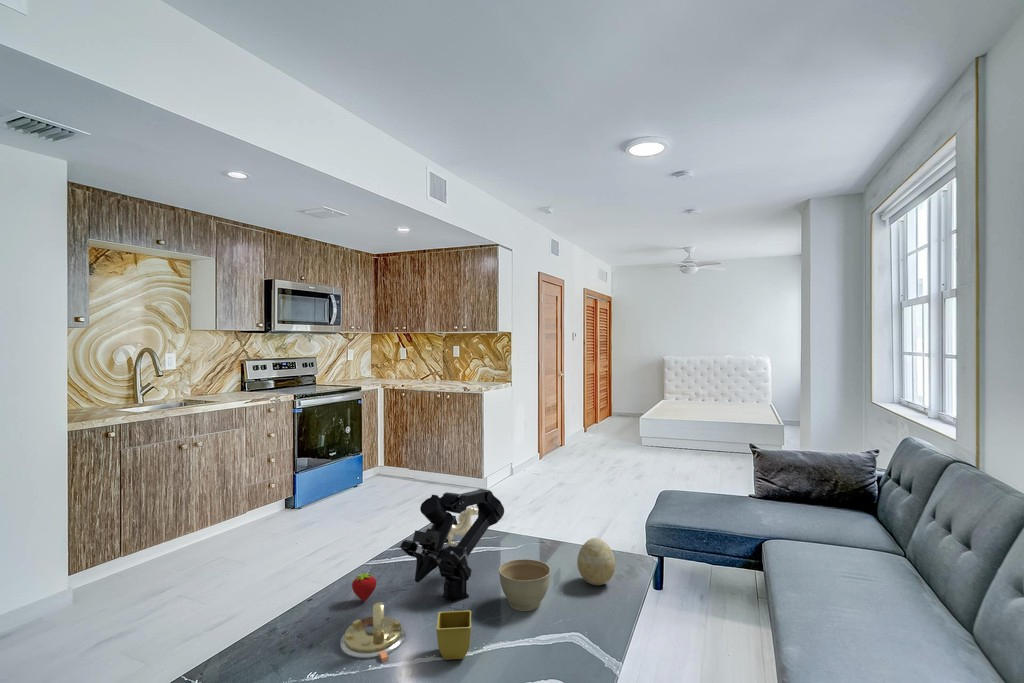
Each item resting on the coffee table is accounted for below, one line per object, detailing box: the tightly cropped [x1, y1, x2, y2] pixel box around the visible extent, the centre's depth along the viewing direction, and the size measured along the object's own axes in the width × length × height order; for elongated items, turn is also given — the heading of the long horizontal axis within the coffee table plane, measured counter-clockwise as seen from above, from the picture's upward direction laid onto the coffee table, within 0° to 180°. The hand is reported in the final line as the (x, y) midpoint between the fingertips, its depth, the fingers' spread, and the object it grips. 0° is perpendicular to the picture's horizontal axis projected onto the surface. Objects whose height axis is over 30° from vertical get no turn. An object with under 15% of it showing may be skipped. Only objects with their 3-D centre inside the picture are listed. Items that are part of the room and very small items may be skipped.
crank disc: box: [343, 601, 402, 653], centre depth 138 cm, size 15×15×11 cm
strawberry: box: [351, 571, 378, 602], centre depth 159 cm, size 6×8×10 cm
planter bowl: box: [498, 558, 552, 612], centre depth 157 cm, size 16×16×11 cm
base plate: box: [339, 623, 406, 660], centre depth 138 cm, size 17×17×4 cm
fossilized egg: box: [576, 537, 616, 586], centre depth 171 cm, size 13×13×15 cm
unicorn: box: [446, 504, 478, 547], centre depth 202 cm, size 20×4×17 cm, turn 111°
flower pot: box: [436, 610, 472, 661], centre depth 131 cm, size 9×9×9 cm
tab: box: [378, 651, 389, 663], centre depth 129 cm, size 3×2×1 cm, turn 31°
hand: (416, 581), depth 146 cm, fingers closed
